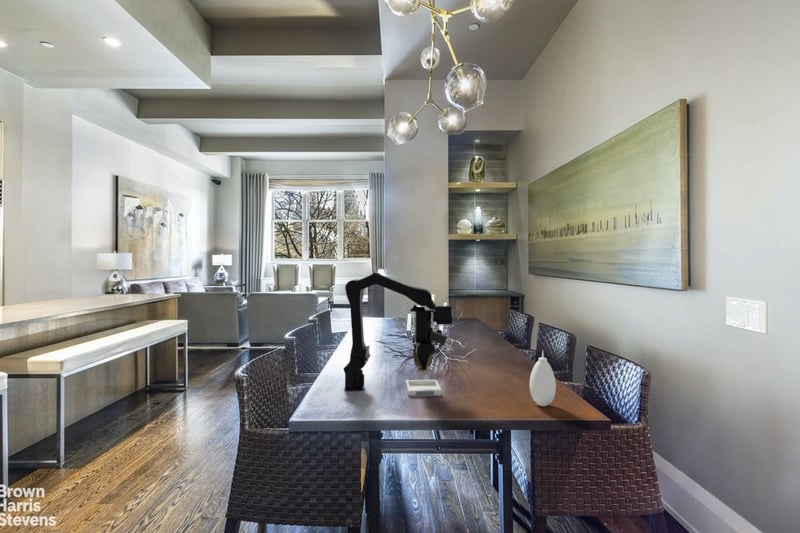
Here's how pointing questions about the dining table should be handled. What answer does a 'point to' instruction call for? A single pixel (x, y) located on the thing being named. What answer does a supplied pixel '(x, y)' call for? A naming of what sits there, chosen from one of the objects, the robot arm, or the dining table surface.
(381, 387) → the dining table surface
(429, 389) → the white tray
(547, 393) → the air blower bulb
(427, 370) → the brown hollow flared piece
